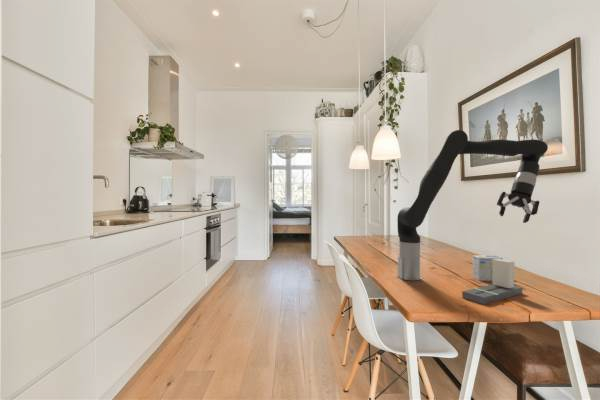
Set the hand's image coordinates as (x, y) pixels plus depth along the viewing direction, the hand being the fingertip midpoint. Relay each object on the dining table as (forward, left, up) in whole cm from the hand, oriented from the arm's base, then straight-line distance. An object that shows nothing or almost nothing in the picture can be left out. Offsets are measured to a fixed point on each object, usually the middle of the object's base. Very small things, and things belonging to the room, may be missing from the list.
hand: (512, 219), depth 126 cm
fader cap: (-9, -9, -26) cm, 29 cm away
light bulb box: (-3, +12, -29) cm, 32 cm away
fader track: (-15, -12, -29) cm, 35 cm away
